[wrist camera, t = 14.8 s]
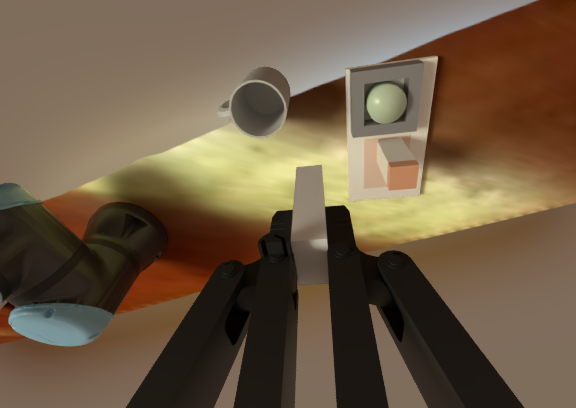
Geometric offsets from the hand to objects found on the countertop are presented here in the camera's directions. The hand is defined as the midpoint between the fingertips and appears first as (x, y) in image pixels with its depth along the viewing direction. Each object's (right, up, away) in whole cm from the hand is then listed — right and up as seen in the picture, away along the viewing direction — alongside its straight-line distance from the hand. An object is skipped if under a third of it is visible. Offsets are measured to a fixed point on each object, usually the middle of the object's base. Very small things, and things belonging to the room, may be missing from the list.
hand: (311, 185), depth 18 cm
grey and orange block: (+14, +8, +28) cm, 32 cm away
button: (+12, +14, +24) cm, 30 cm away
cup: (-6, +15, +26) cm, 31 cm away
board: (+14, +9, +28) cm, 33 cm away
